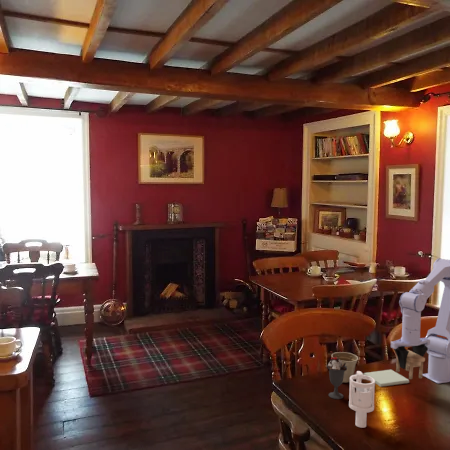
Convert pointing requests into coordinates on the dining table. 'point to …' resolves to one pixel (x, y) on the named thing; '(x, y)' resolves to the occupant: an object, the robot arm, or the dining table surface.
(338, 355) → the flower pot
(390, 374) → the board
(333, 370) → the sundae
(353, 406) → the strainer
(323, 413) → the dining table surface
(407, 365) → the stool
